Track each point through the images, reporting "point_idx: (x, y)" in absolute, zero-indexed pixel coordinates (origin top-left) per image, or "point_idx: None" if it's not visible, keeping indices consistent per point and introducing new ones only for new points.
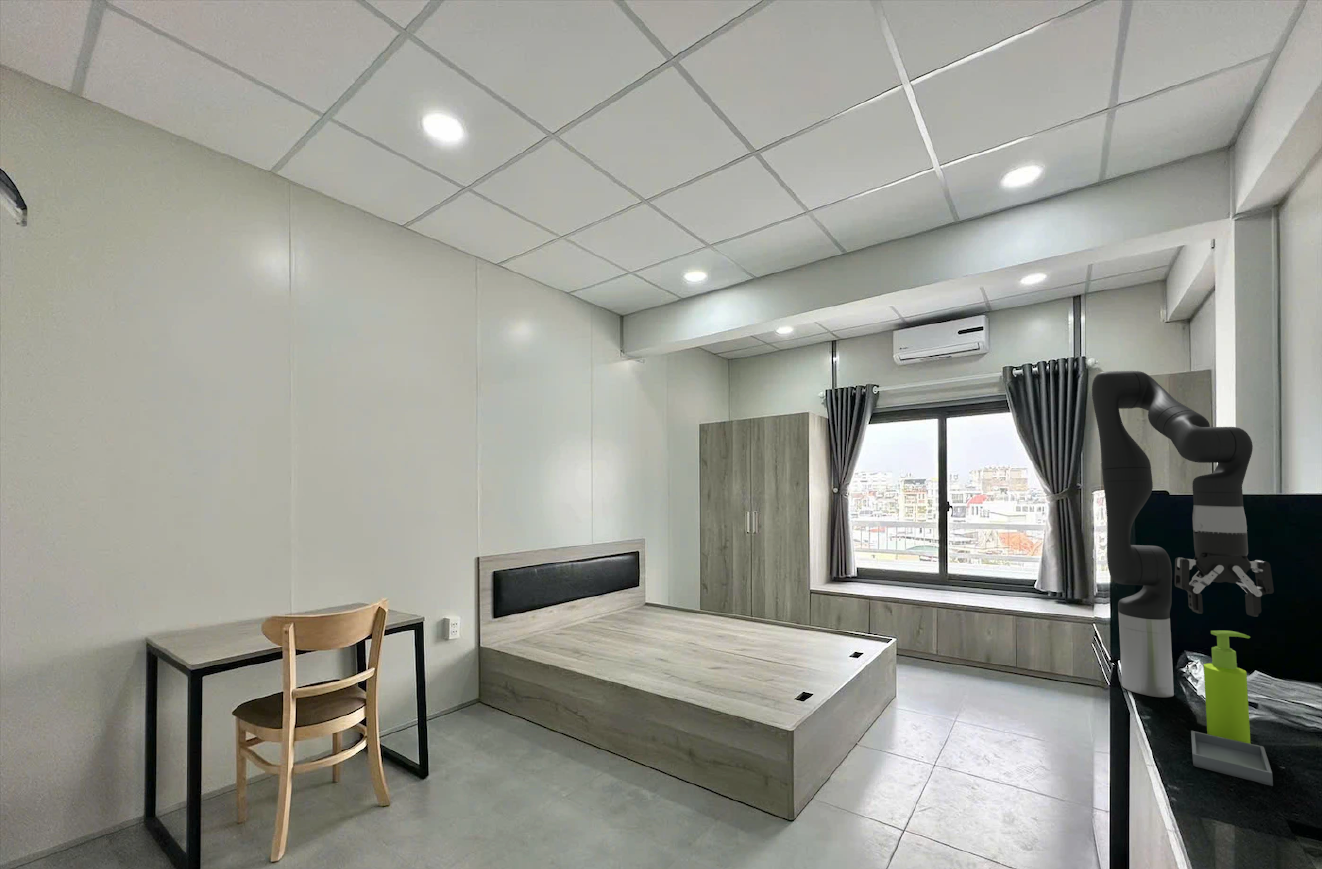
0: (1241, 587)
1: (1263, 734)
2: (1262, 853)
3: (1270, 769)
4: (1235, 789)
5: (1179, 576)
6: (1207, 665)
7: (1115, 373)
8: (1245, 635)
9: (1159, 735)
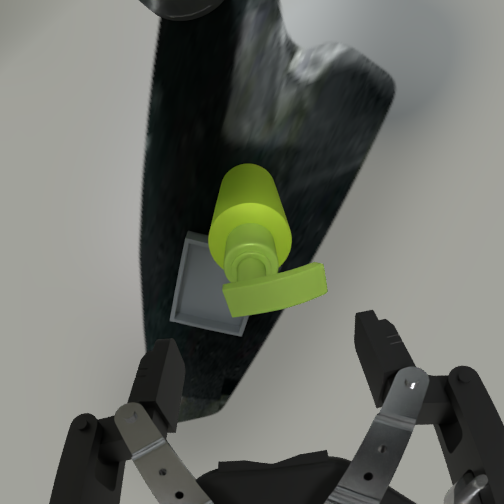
0: (383, 404)
1: (313, 142)
2: (191, 416)
3: (244, 327)
4: (201, 346)
5: (79, 468)
6: (214, 242)
7: None
8: (312, 298)
9: (149, 226)
